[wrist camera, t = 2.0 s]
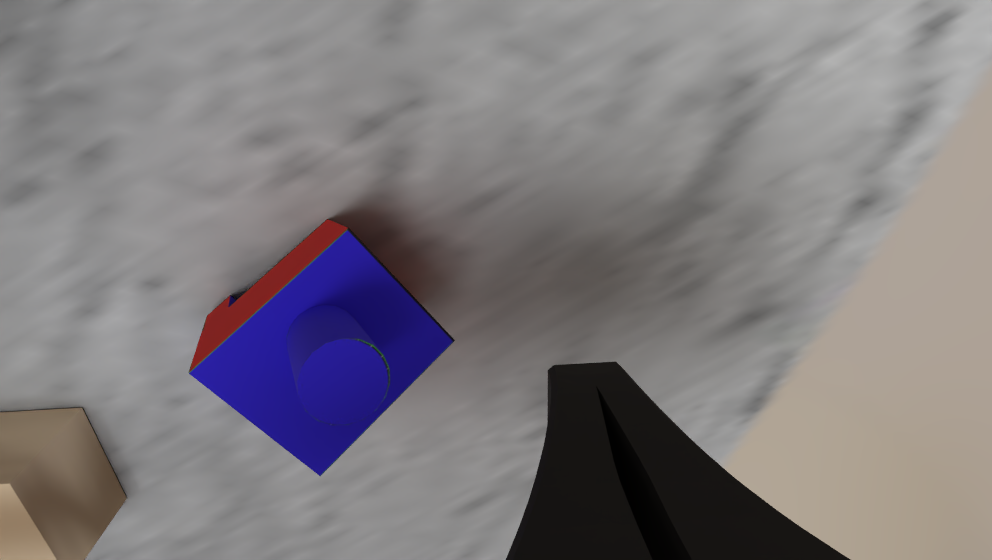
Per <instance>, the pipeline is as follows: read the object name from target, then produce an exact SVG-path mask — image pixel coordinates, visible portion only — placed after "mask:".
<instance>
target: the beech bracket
mask: <svg viewBox="0 0 992 560" xmlns="http://www.w3.org/2000/svg"><path fill="white" fill-rule="evenodd" d="M126 499H127V498H126V496H125V494H124V492H123V490H122V488H121V486H120V484H119V482H118V480H117V478H116V476H115V474H114V472H113V470H112V468H111V465H110V463H109V461H108V459H107V457H106V455H105V453H104V451H103V449H102V447H101V445H100V443H99V441H98V439H97V437H96V435H95V433H94V431H93V429H92V427H91V425H90V423H89V421H88V419H87V417H86V415H85V413H84V411H83V409H82V408H68V409H51V410H33V411H16V412H0V560H85V558H86V557H87V555H88V554H89V552H90V551H91V549H92V548H93V547H94V545H95V544H96V542H97V541H98V539H99V538H100V536H101V535H102V534H103V532H104V531H105V529H106V528H107V526H108V525H109V523H110V522H111V521H112V519H113V518H114V516H115V515H116V513H117V512H118V510H119V509H120V508H121V506H122V505H123V503H124V502H125V500H126Z"/></svg>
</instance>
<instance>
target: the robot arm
mask: <svg viewBox="0 0 992 560" xmlns="http://www.w3.org/2000/svg"><path fill="white" fill-rule="evenodd" d="M506 560H850V559H849V558H847V557H845V556H844V555H842V554H841V553H839V552H838V551H836V550H835V549H833V548H831V547H830V546H829V545H827V544H825V543H824V542H822V541H821V540H819V539H818V538H816V537H815V536H813V535H812V534H810V533H809V532H807V531H806V530H804V529H803V528H801V527H800V526H798V525H797V524H795V523H794V522H793V521H791V520H790V519H788V518H787V517H785V516H784V515H783V514H781V513H780V512H778V511H777V510H776V509H774V508H773V507H772V506H770V505H769V504H768V503H766V502H765V501H764V500H762V499H761V498H760V497H759V496H757V495H756V494H755V493H753V492H752V491H751V490H749V489H748V488H747V487H745V486H744V485H743V484H742V483H740V482H739V481H738V480H737V479H735V478H734V477H733V476H732V475H731V474H729V473H728V472H727V471H726V470H725V469H723V468H722V467H721V466H720V465H719V464H718V463H717V462H716V461H714V460H713V459H712V458H711V457H710V456H709V455H708V454H706V453H705V452H704V451H703V450H702V449H701V448H700V447H699V446H698V445H697V444H696V443H694V442H693V441H692V440H691V439H690V438H689V437H688V436H687V435H686V434H685V433H684V432H683V431H682V430H681V429H680V428H679V427H678V426H677V425H676V424H675V423H674V422H673V421H672V420H671V419H670V418H669V417H668V416H667V415H666V414H665V413H664V412H663V411H662V410H661V409H660V408H659V407H658V406H657V405H656V404H655V403H654V402H653V401H652V400H651V399H650V398H649V397H648V396H647V394H646V393H645V392H644V391H643V390H642V389H641V388H640V387H639V386H638V385H637V384H636V383H635V381H634V380H633V379H632V378H631V377H630V376H629V375H628V374H627V373H626V371H625V370H624V369H623V368H622V367H621V366H620V365H619V364H618V363H617V362H603V363H585V364H567V365H554V366H552V367H551V368H550V369H549V370H548V425H547V431H546V438H545V443H544V447H543V451H542V455H541V459H540V463H539V467H538V471H537V475H536V478H535V482H534V485H533V488H532V492H531V495H530V498H529V501H528V504H527V507H526V509H525V512H524V515H523V518H522V521H521V523H520V526H519V529H518V531H517V534H516V536H515V539H514V541H513V544H512V546H511V549H510V551H509V554H508V556H507V558H506Z"/></svg>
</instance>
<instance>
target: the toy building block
mask: <svg viewBox="0 0 992 560" xmlns="http://www.w3.org/2000/svg"><path fill="white" fill-rule="evenodd" d="M454 341H455V340H454V339H453V338H452V337H451V336H450V335H449V334H448V333H447V332H446V331H445V330H444V329H443V327H442V326H441V325H440V324H439V323H438V322H437V321H436V320H435V319H434V318H433V317H432V316H431V315H430V314H429V313H428V312H427V311H426V309H425V308H424V307H423V306H422V305H421V304H420V303H419V302H418V301H417V300H416V299H415V298H414V297H413V296H412V295H411V294H410V293H409V291H408V290H407V289H406V288H405V287H404V286H403V285H402V284H401V283H400V282H399V281H398V280H397V279H396V278H395V277H394V276H393V275H392V273H391V272H390V271H389V270H388V269H387V268H386V267H385V266H384V265H383V264H382V263H381V262H380V261H379V260H378V259H377V258H376V257H375V255H374V254H373V253H372V252H371V251H370V250H369V249H368V248H367V247H366V246H365V245H364V244H363V243H362V242H361V241H360V240H359V239H358V237H357V236H356V235H355V234H354V233H353V232H352V231H351V230H350V229H349V228H347V227H345V226H343V225H340V224H338V223H335V222H333V221H331V220H328V219H327V220H326V221H325V222H324V223H323V224H321V225H320V226H319V227H318V228H317V229H316V230H315V231H314V232H312V233H311V234H310V235H309V236H308V237H307V238H306V239H305V240H304V241H302V242H301V243H300V244H299V245H298V246H297V247H296V248H295V249H293V250H292V251H291V252H290V253H289V254H288V255H287V256H286V257H284V258H283V259H282V260H281V261H280V262H279V263H278V264H277V265H275V266H274V267H273V268H272V269H271V270H270V271H269V272H268V273H266V274H265V275H264V276H263V277H262V278H261V279H260V280H259V281H257V282H256V283H255V284H254V285H253V286H252V287H251V288H250V289H248V290H247V291H246V292H245V293H244V294H243V295H242V296H241V297H240V298H238V299H237V300H235V299H234V298H233V297H232V296H229V297H228V298H227V299H226V300H225V301H223V302H222V303H221V304H220V305H219V306H218V307H217V308H215V309H214V310H213V311H212V312H211V313H210V314H209V315H208V316H207V318H206V321H205V324H204V327H203V330H202V333H201V336H200V339H199V342H198V345H197V348H196V352H195V355H194V358H193V361H192V364H191V367H190V370H189V374H190V375H192V376H193V377H194V378H196V379H197V380H198V381H199V382H201V383H202V384H203V385H204V386H206V387H207V388H208V389H210V390H211V391H212V392H213V393H215V394H216V395H217V396H219V397H220V398H221V399H222V400H224V401H225V402H226V403H227V404H229V405H230V406H231V407H233V408H234V409H235V410H236V411H238V412H239V413H240V414H241V415H243V416H244V417H245V418H247V419H248V420H249V421H250V422H252V423H253V424H254V425H256V426H257V427H258V428H259V429H261V430H262V431H263V432H264V433H266V434H267V435H268V436H270V437H271V438H272V439H273V440H275V441H276V442H277V443H279V444H280V445H281V446H282V447H284V448H285V449H286V450H287V451H289V452H290V453H291V454H293V455H294V456H295V457H296V458H298V459H299V460H300V461H301V462H303V463H304V464H305V465H307V466H308V467H309V468H310V469H312V470H313V471H314V472H316V473H317V474H318V475H319V476H321V475H322V474H323V473H324V472H325V471H326V470H327V469H328V468H329V467H330V466H331V465H332V464H333V463H334V462H335V461H336V460H337V459H338V458H339V457H340V456H341V455H342V454H343V453H344V452H345V451H346V450H347V449H348V448H349V447H350V446H351V445H352V444H353V443H354V442H355V441H356V440H357V439H358V438H359V437H360V436H361V435H362V434H363V433H364V432H365V431H366V430H367V429H368V428H369V426H370V425H371V424H372V423H373V422H374V421H375V420H376V419H377V418H378V417H379V416H380V415H381V414H382V413H383V412H384V411H385V410H386V409H387V408H388V407H389V406H390V405H391V404H392V403H393V402H394V401H395V400H396V399H397V398H398V397H399V396H400V395H401V394H402V393H403V392H404V391H405V390H406V389H407V388H408V387H409V386H410V385H411V384H412V383H413V382H414V381H415V380H416V379H417V378H418V377H419V376H420V375H421V374H422V373H423V372H424V371H425V370H426V369H427V368H428V367H429V366H430V365H431V364H432V363H433V362H434V361H435V360H436V359H437V358H438V357H439V356H440V355H441V354H442V353H443V352H444V351H445V350H446V349H447V348H448V347H449V346H450V345H451V344H452V343H453V342H454Z"/></svg>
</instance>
